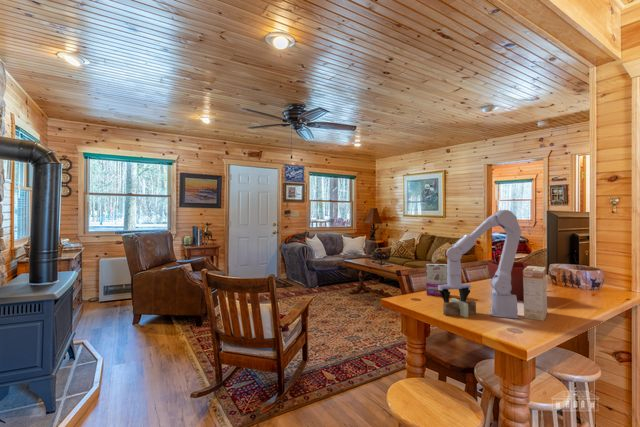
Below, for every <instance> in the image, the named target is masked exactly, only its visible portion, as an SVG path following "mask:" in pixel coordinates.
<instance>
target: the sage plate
mask: <svg viewBox="0 0 640 427" xmlns="http://www.w3.org/2000/svg"><path fill="white" fill-rule="evenodd" d="M450 302H456V303H458V308H459V309H460V315H459V316H461V317H463V318H469V314H468V304H467V303H465V302H462V301H460V299H457V298H455V297H451V298H450Z"/></svg>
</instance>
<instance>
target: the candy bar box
mask: <svg viewBox="0 0 640 427" xmlns="http://www.w3.org/2000/svg"><path fill="white" fill-rule="evenodd" d="M444 284H447V263H425V287H426V288H425V289H426V296H430V295H433V297H434V296H435V297H436V296H437V297H442V295H441V293H440V292H439V290H438V285H444ZM448 291H449V292H450V290H448Z"/></svg>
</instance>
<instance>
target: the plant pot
mask: <svg viewBox="0 0 640 427" xmlns="http://www.w3.org/2000/svg"><path fill="white" fill-rule="evenodd" d="M499 262H500V261H495V262H494V261H493V262H492V261H491V262H490V261H488V262H487V267H488V272H489V276H490V279H492V278H493V277H494V276H495V273H496V271H497V269H498V266H499ZM527 266H538V267H542V265H538V264H532V263H528V262H523V261H514V263H513V267H512V270H511V286H512V289H511V292H510V293H511V294H512V295H516V297H517V301H524V289H523V270H524V269H525V268H526V267H527Z"/></svg>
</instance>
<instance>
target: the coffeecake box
mask: <svg viewBox="0 0 640 427" xmlns="http://www.w3.org/2000/svg"><path fill="white" fill-rule="evenodd" d="M538 266H539V265H537V266H527V267H526V268H525V269H524V270H523V289H524V300H523V314H524V315H523V318H524V319H529V320H536V321H542V322H545V319H546V317H547V313H548V300H547V299H548V297H547V296H548V294H547V267H546V266H541V267H538Z"/></svg>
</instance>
